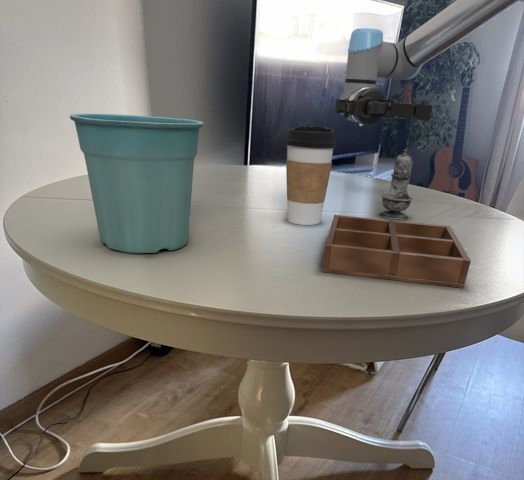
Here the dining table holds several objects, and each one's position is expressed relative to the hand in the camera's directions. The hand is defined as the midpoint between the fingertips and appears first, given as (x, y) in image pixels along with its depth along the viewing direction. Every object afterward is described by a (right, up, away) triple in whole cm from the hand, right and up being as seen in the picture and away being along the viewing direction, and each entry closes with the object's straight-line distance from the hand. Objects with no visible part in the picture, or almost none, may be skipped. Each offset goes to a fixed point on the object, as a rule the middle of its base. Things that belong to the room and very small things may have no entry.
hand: (394, 111), depth 92 cm
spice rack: (-8, -33, -24) cm, 42 cm away
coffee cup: (-18, -23, -7) cm, 30 cm away
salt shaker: (0, -20, 0) cm, 20 cm away
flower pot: (-42, -31, -23) cm, 57 cm away
